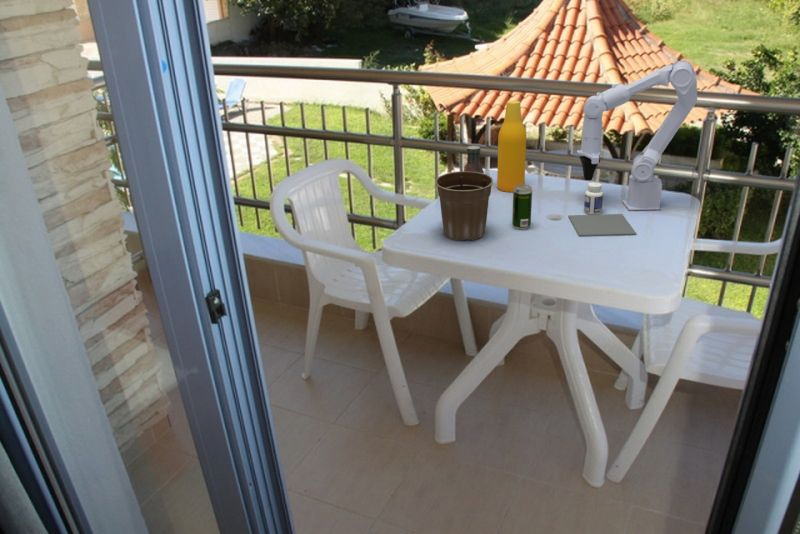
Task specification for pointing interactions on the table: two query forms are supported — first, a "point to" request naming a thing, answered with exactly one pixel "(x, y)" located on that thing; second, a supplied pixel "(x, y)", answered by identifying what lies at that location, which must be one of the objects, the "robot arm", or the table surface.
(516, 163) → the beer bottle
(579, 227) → the mat
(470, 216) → the plant pot
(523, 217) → the beer can
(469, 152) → the sauce bottle
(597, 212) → the pill bottle
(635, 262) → the table surface
